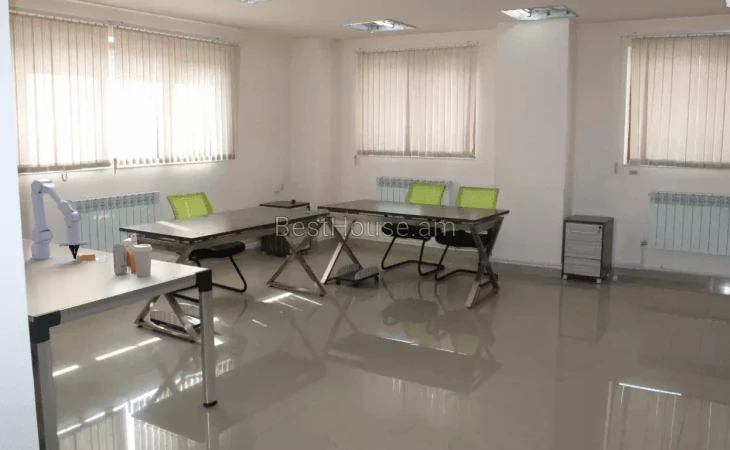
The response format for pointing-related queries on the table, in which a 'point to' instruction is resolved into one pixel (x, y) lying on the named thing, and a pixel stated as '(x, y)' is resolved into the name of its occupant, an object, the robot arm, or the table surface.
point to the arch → (130, 260)
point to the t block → (85, 257)
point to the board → (74, 261)
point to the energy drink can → (119, 259)
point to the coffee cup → (142, 259)
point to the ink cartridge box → (130, 242)
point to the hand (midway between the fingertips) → (75, 258)
